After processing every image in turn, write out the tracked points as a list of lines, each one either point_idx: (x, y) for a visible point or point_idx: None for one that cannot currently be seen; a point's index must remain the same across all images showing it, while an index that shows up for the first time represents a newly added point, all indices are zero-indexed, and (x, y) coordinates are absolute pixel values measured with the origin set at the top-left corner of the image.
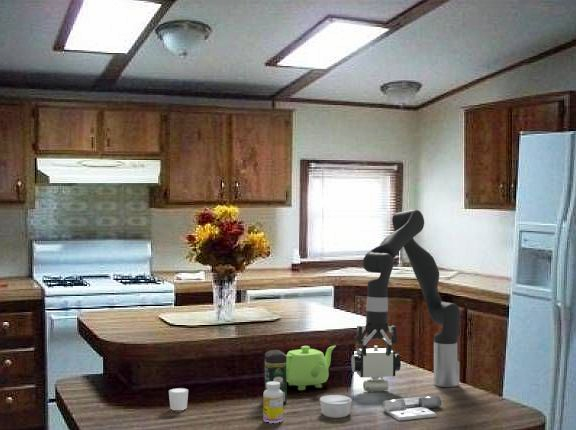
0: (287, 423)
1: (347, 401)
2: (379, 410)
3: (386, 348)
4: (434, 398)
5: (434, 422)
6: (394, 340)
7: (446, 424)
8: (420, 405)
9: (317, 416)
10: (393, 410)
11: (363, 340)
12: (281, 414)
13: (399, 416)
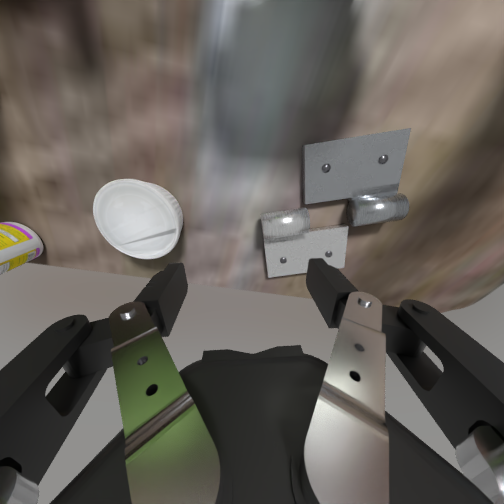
0: (59, 256)
1: (168, 233)
2: (254, 205)
3: (323, 285)
4: (388, 219)
5: None
6: (401, 360)
7: None
8: (350, 207)
9: None
10: (274, 239)
11: (125, 337)
12: (28, 259)
13: (271, 274)
